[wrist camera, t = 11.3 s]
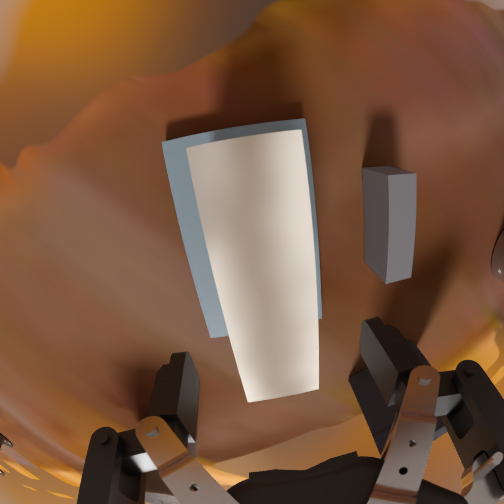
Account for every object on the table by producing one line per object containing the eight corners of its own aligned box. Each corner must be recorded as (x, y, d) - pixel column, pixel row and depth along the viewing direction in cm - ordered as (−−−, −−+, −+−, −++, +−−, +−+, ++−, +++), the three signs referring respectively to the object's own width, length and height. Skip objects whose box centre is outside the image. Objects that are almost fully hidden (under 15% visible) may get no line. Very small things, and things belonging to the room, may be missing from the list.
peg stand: (300, 119, 23) (335, 111, 15) (317, 310, 30) (342, 362, 23) (165, 142, 22) (134, 144, 15) (211, 329, 30) (208, 387, 22)
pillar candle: (130, 423, 37) (116, 497, 24) (174, 414, 36) (166, 499, 23) (165, 447, 41) (159, 514, 27) (208, 439, 40) (209, 514, 26)
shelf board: (288, 131, 15) (301, 129, 12) (309, 363, 22) (318, 389, 19) (193, 146, 15) (185, 147, 12) (245, 375, 22) (248, 402, 19)
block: (387, 165, 25) (416, 173, 20) (387, 256, 29) (411, 277, 24) (361, 167, 25) (388, 175, 20) (364, 261, 28) (385, 283, 24)
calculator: (353, 389, 37) (386, 468, 23) (346, 375, 35) (382, 461, 22) (414, 353, 36) (461, 423, 22) (411, 337, 34) (464, 411, 20)
